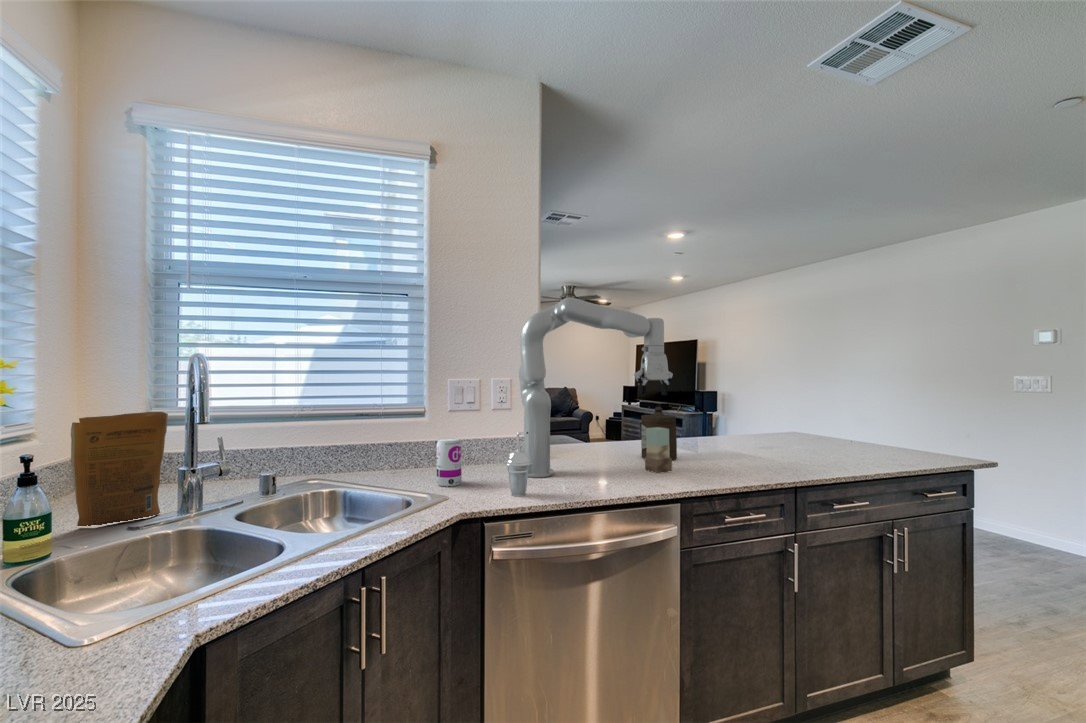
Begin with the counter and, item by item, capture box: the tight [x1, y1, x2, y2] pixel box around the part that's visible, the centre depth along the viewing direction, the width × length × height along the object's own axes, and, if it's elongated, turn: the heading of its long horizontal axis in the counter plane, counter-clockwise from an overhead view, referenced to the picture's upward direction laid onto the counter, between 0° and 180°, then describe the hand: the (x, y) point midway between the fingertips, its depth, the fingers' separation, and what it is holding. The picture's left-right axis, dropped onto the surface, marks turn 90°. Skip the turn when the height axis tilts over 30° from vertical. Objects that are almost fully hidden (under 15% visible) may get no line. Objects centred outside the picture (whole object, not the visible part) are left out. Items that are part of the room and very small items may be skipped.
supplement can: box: [436, 437, 463, 488], centre depth 165 cm, size 8×8×15 cm
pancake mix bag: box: [70, 411, 169, 527], centre depth 125 cm, size 7×19×28 cm, turn 137°
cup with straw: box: [504, 431, 532, 497], centre depth 151 cm, size 8×9×20 cm
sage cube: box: [646, 427, 669, 446], centre depth 185 cm, size 6×6×6 cm
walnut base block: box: [644, 457, 673, 474], centre depth 185 cm, size 7×7×5 cm
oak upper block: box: [646, 444, 670, 460], centre depth 185 cm, size 6×6×5 cm
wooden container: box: [640, 406, 678, 461], centre depth 210 cm, size 15×15×22 cm
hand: (653, 395), depth 186 cm, fingers open, 9 cm apart
